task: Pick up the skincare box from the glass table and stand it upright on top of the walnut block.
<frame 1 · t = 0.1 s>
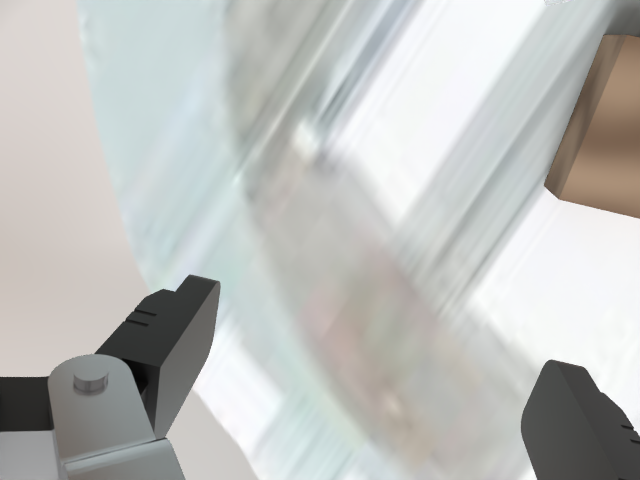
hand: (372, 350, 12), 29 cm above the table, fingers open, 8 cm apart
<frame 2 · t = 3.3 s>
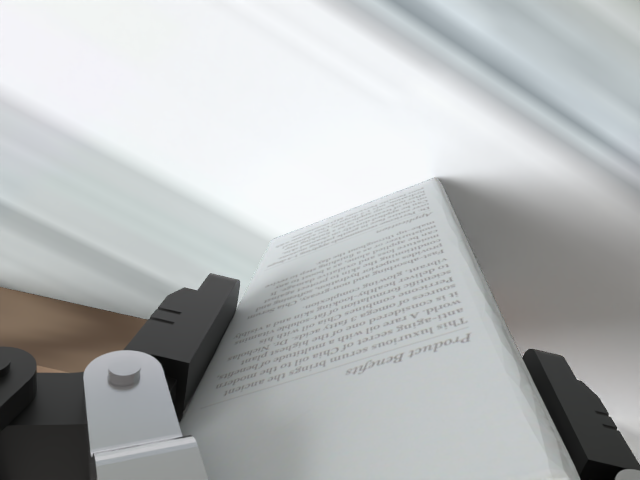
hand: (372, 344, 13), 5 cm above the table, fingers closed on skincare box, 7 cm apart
walnut block: (90, 412, 22), on the table
skincare box: (376, 258, 18), on the table, touching gripper
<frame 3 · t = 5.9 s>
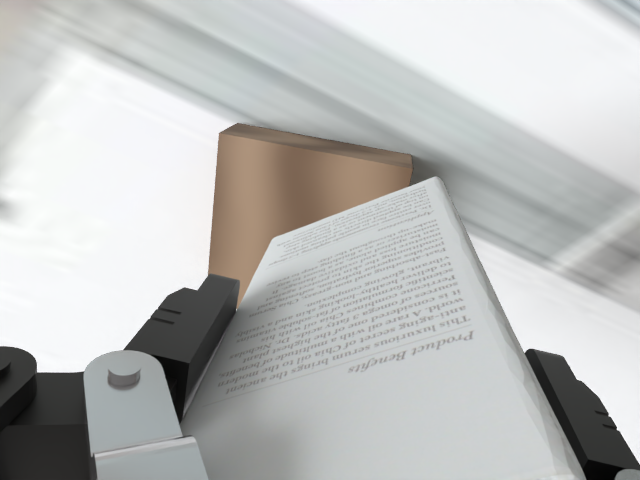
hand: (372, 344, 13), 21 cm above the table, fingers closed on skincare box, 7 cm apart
walnut block: (311, 218, 34), on the table
skincare box: (377, 257, 18), point 15 cm above the table, touching gripper
when the fingers open (10 cm above the table, at t = 8.4 s): skincare box drops 1 cm, resting on walnut block.
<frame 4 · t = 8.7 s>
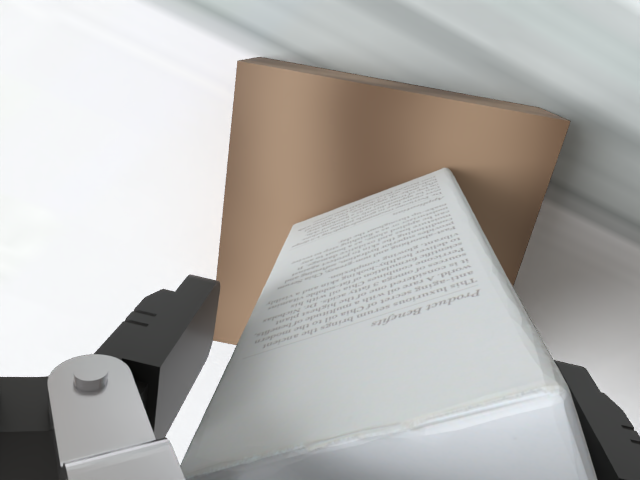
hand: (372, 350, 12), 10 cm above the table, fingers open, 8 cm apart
walnut block: (370, 209, 22), on the table, touching skincare box
skincare box: (390, 243, 19), point 3 cm above the table, touching gripper, walnut block
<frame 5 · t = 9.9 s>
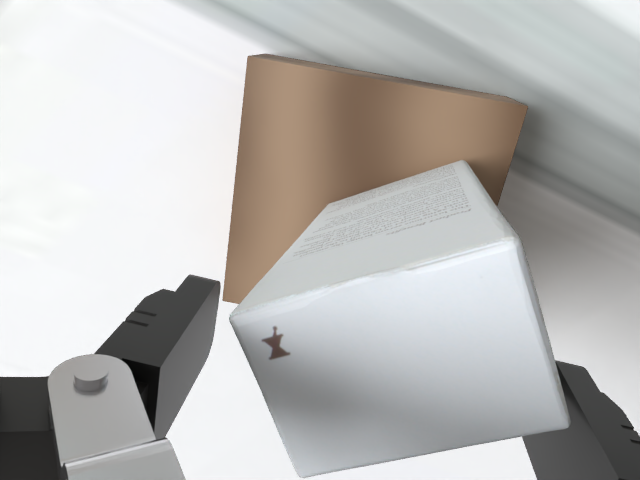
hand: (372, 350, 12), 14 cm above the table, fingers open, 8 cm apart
walnut block: (362, 188, 26), on the table, touching skincare box
skincare box: (411, 226, 22), point 4 cm above the table, touching gripper, walnut block
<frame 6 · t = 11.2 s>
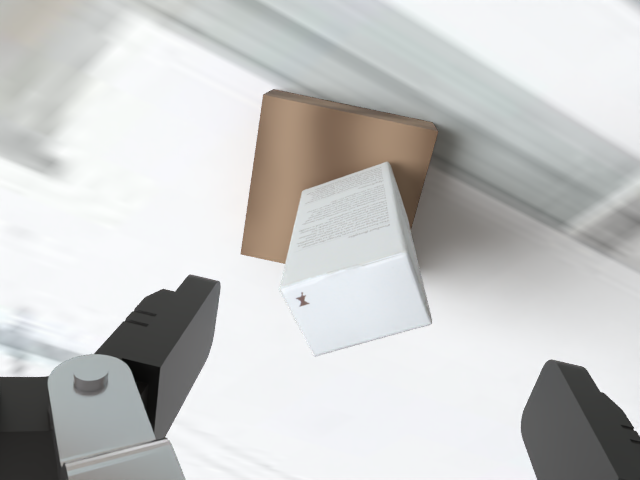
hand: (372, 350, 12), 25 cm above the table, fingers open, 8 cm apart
walnut block: (336, 180, 37), on the table, touching skincare box
skincare box: (356, 201, 34), point 3 cm above the table, touching walnut block
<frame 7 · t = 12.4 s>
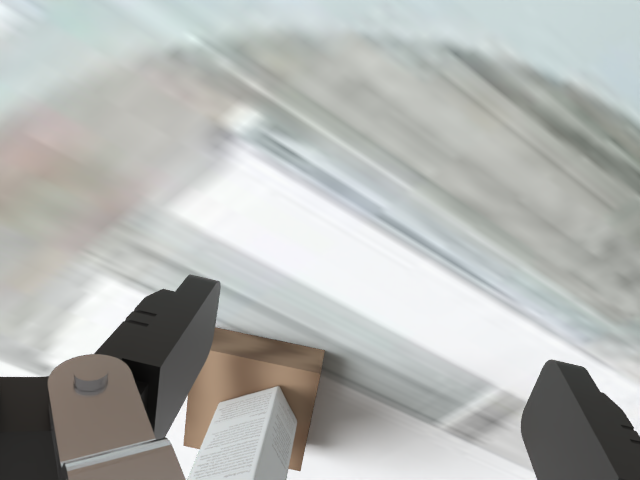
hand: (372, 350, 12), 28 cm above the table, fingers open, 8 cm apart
walnut block: (258, 383, 49), on the table
skincare box: (260, 409, 45), point 3 cm above the table
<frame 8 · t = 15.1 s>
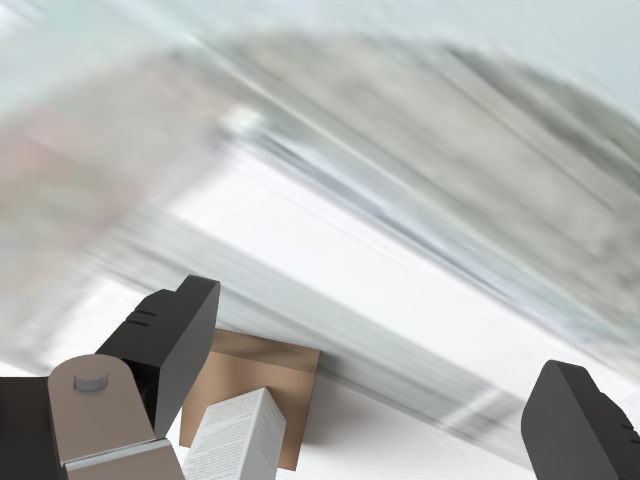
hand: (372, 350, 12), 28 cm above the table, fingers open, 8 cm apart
walnut block: (254, 383, 49), on the table, touching skincare box
skincare box: (249, 411, 45), point 3 cm above the table, touching walnut block
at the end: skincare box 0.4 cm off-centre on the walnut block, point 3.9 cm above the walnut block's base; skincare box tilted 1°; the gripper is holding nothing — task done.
